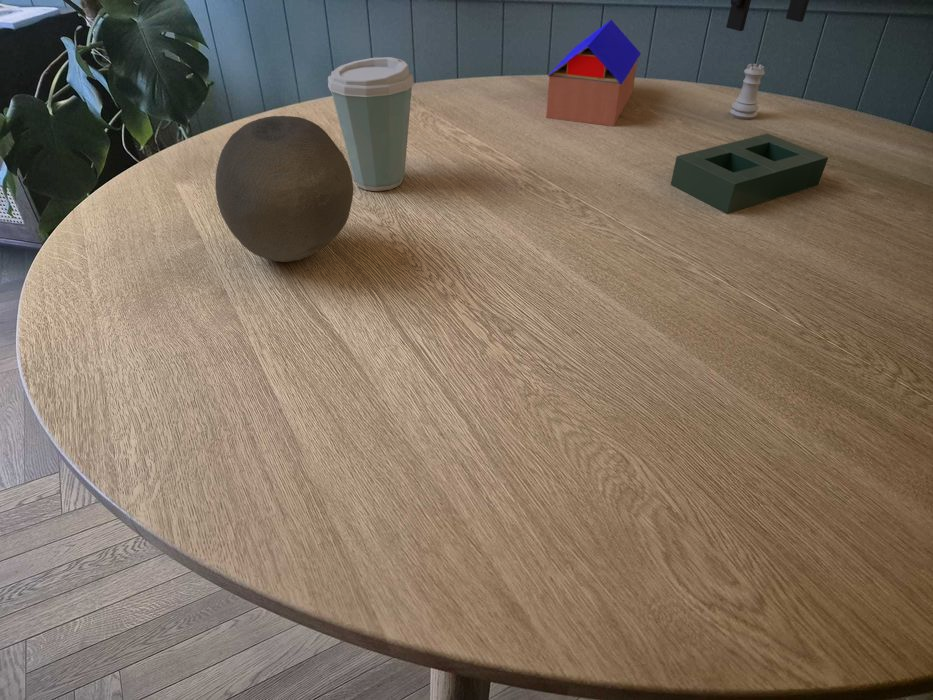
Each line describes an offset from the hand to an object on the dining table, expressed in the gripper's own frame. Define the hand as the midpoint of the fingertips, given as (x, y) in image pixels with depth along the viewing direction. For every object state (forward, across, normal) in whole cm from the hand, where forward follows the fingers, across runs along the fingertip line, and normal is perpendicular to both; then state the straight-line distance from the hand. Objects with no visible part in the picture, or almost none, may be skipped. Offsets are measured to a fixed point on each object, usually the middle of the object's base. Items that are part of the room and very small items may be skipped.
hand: (765, 24), depth 103 cm
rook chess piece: (+14, 0, 0) cm, 14 cm away
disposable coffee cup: (+14, +65, -5) cm, 66 cm away
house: (+14, +18, -17) cm, 29 cm away
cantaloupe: (+14, +81, +9) cm, 82 cm away
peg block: (+14, +22, +20) cm, 33 cm away
